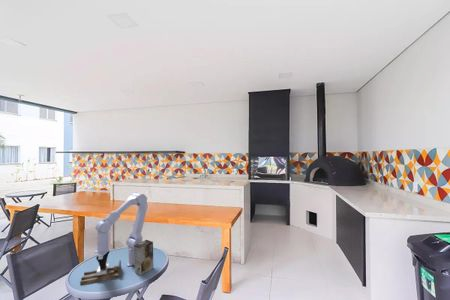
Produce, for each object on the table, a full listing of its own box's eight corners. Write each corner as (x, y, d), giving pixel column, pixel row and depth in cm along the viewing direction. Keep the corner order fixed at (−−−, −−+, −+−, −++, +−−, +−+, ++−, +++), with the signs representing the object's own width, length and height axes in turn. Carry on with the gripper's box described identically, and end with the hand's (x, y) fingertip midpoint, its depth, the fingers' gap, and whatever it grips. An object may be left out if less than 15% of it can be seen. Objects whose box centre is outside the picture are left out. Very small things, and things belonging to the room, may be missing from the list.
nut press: (121, 268, 130) (121, 259, 130) (119, 277, 121) (119, 267, 121) (85, 274, 124) (85, 265, 124) (80, 284, 114) (80, 274, 114)
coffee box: (146, 265, 133) (146, 239, 134) (153, 268, 130) (153, 241, 131) (133, 272, 126) (133, 244, 126) (141, 275, 122) (141, 247, 123)
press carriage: (109, 266, 127) (109, 256, 127) (106, 273, 119) (106, 262, 120) (99, 268, 125) (99, 258, 125) (96, 275, 118) (96, 264, 118)
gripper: (98, 238, 128) (98, 261, 128) (92, 248, 115) (92, 274, 114) (111, 237, 131) (111, 259, 130) (106, 246, 117) (106, 271, 117)
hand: (103, 266), depth 122 cm, fingers closed on press carriage, 3 cm apart
